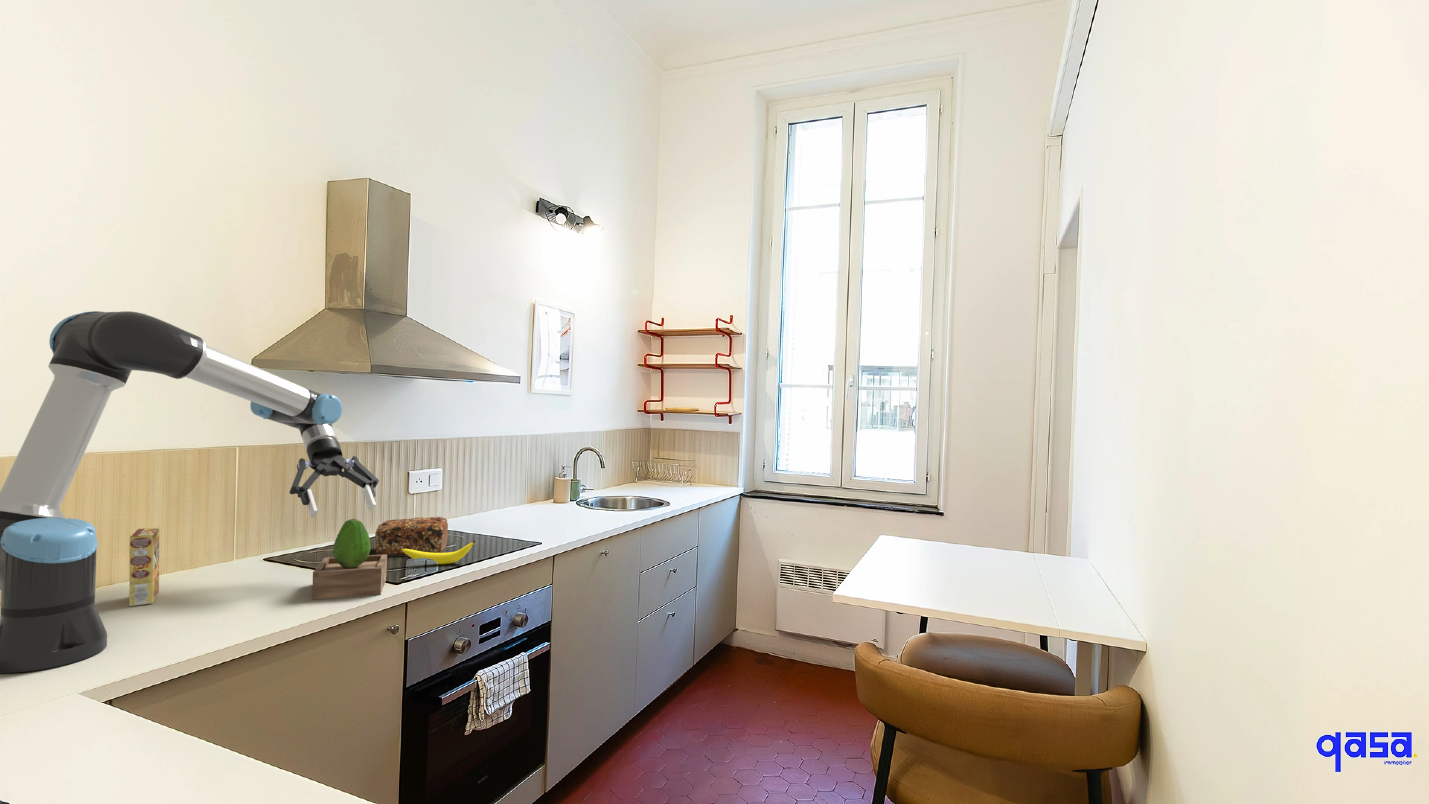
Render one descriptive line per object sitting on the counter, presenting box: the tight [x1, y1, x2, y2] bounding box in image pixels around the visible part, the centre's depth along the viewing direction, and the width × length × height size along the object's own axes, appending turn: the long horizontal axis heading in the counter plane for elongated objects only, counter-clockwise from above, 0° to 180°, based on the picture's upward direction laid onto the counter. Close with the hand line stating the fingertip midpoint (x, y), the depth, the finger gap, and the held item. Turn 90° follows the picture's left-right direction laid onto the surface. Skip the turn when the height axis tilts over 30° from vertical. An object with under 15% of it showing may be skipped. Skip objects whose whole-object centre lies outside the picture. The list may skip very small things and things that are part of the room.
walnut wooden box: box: [311, 554, 388, 600], centre depth 159 cm, size 14×14×6 cm
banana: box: [402, 540, 476, 565], centre depth 182 cm, size 3×19×6 cm, turn 111°
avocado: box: [333, 517, 372, 568], centre depth 159 cm, size 8×8×12 cm
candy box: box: [128, 527, 161, 607], centre depth 146 cm, size 9×4×15 cm, turn 33°
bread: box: [374, 516, 449, 556], centre depth 197 cm, size 19×11×10 cm, turn 103°
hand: (344, 511), depth 162 cm, fingers open, 13 cm apart
